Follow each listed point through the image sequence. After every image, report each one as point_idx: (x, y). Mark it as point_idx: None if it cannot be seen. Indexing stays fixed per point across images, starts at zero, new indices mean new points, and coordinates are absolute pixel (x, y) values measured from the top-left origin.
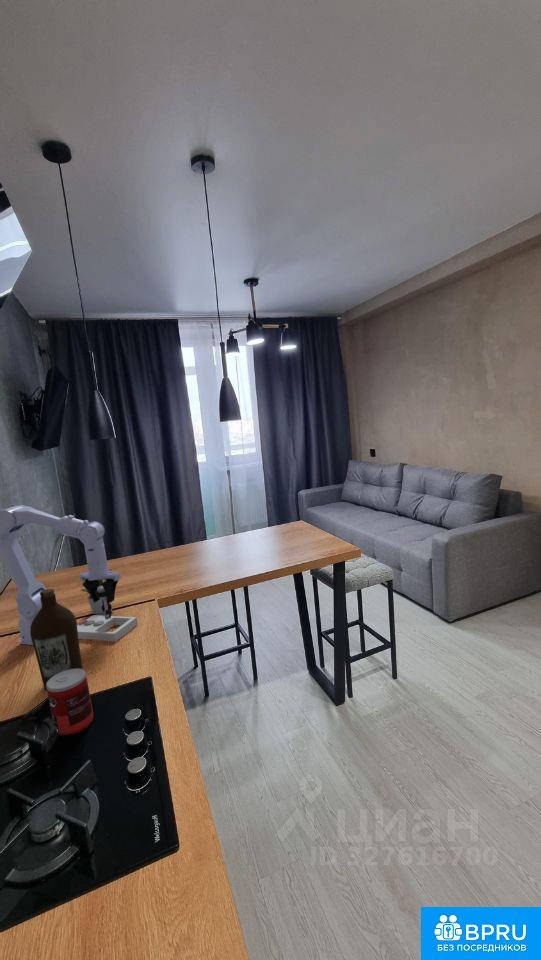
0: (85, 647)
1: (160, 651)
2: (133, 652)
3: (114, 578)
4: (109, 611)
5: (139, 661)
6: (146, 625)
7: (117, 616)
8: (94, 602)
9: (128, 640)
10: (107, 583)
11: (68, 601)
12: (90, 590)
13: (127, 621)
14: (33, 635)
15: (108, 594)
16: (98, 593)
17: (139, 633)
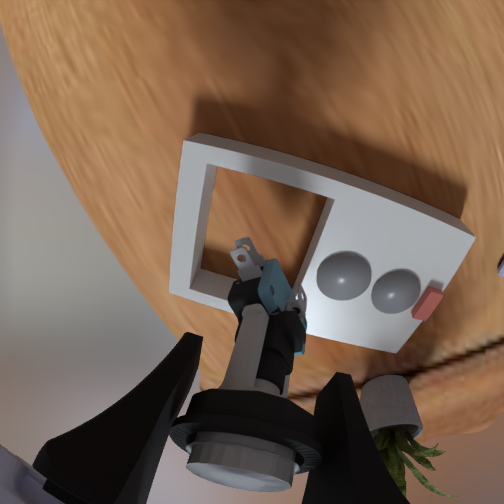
0: (347, 98)
1: (21, 77)
2: (84, 52)
3: (1, 472)
4: (235, 294)
5: (51, 13)
6: (141, 255)
7: None
8: (397, 410)
9: (144, 139)
10: (36, 467)
11: (468, 420)
12: (353, 472)
13: (188, 264)
14: None
15: (141, 385)
16: (253, 429)
17: (130, 195)
